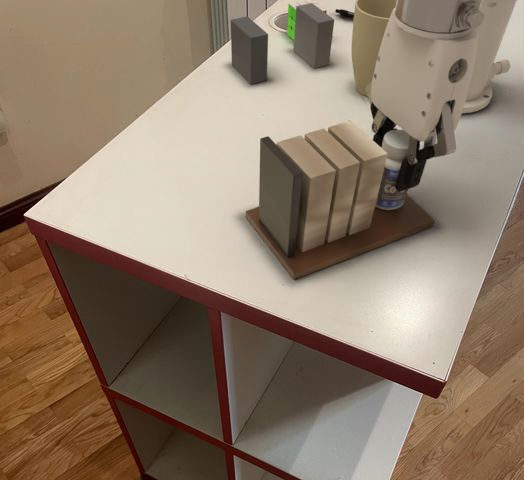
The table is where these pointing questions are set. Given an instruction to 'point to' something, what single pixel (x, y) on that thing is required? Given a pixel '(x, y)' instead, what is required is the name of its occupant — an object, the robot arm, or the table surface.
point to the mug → (368, 38)
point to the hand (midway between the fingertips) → (393, 173)
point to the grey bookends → (305, 42)
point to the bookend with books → (327, 199)
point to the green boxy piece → (293, 15)
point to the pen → (345, 13)
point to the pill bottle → (392, 170)
